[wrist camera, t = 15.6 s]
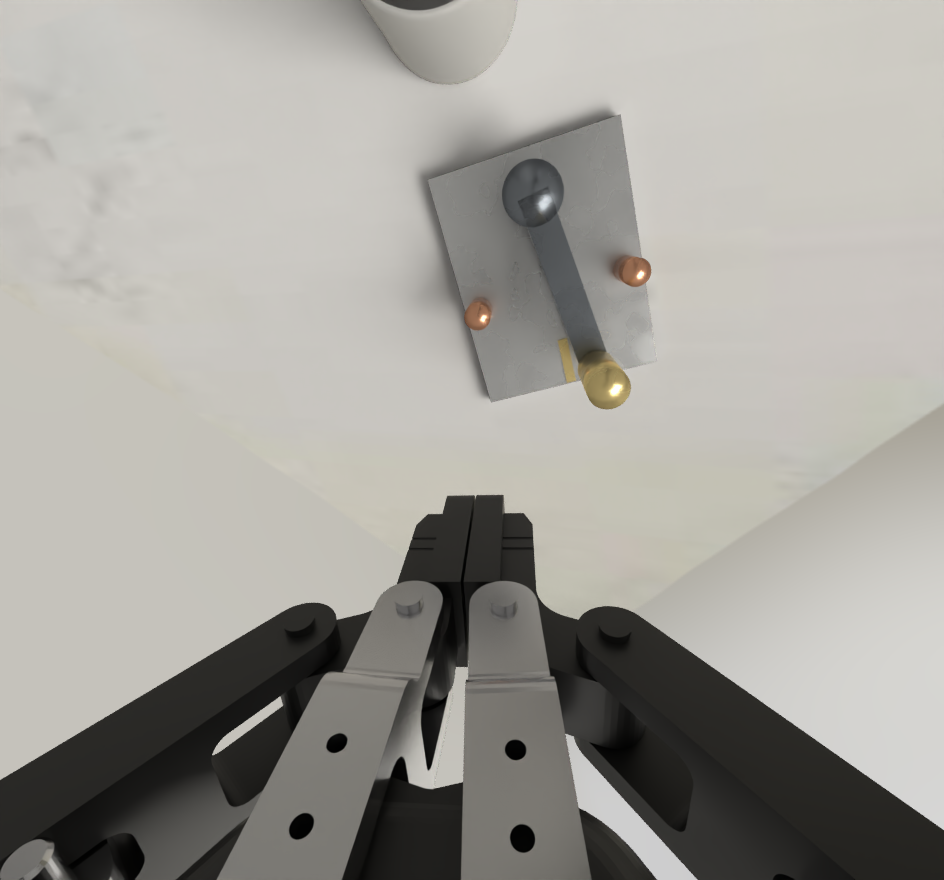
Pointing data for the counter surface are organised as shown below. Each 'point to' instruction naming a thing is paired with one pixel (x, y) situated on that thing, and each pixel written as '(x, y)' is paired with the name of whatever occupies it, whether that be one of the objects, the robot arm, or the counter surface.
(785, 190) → the counter surface
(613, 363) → the crank lever
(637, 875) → the robot arm
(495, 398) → the crank base
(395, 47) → the mug
